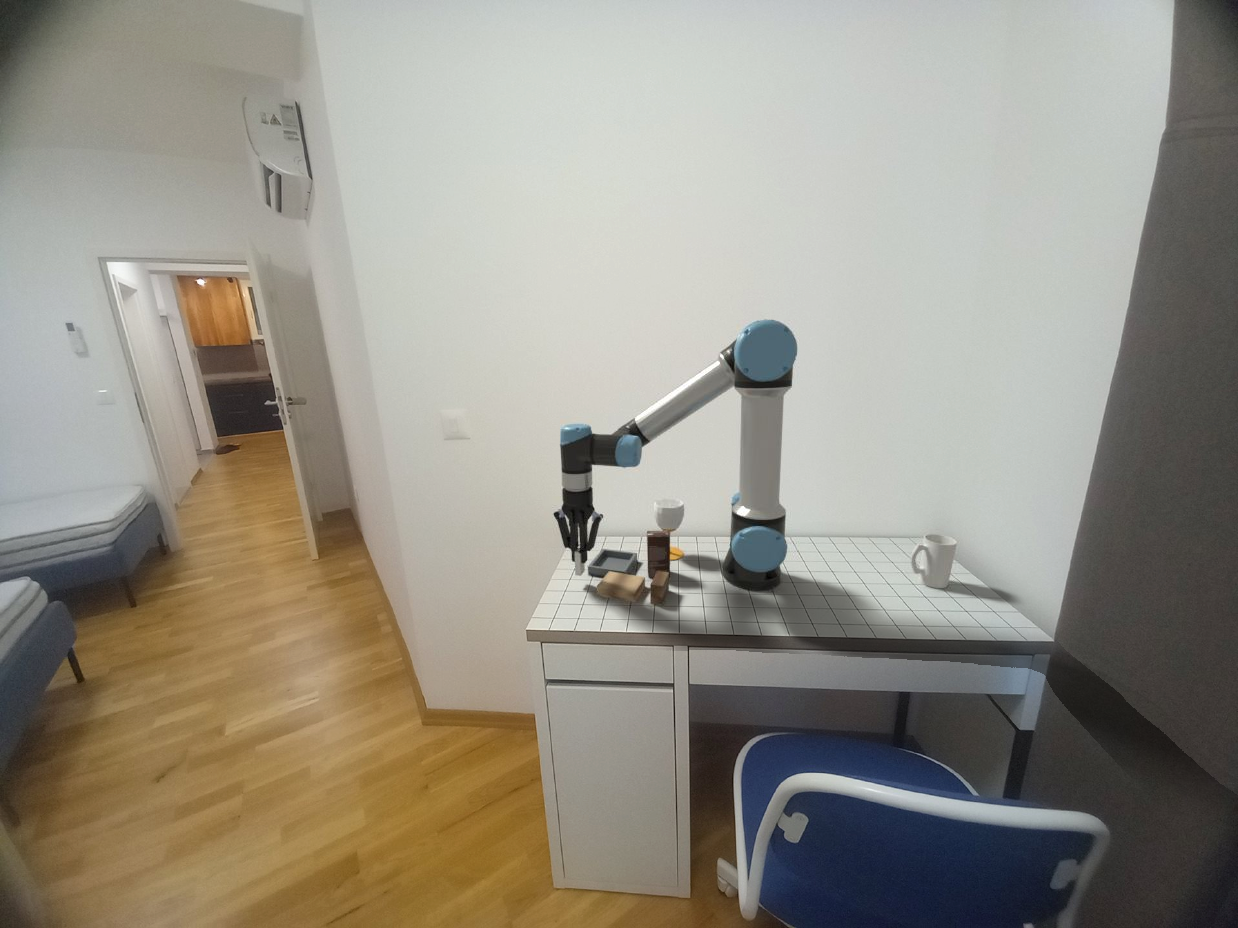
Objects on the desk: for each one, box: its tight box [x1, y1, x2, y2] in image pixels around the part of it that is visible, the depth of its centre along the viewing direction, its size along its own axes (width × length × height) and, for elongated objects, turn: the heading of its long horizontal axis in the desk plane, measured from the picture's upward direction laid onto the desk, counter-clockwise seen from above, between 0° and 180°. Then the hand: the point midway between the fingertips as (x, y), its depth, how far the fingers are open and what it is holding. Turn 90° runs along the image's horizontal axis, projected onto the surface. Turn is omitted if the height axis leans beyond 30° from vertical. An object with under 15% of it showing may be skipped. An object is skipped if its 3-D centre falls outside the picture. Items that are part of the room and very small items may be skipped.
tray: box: [587, 548, 638, 578], centre depth 125 cm, size 11×12×2 cm
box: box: [646, 530, 671, 579], centre depth 120 cm, size 6×4×12 cm
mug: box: [910, 533, 958, 589], centre depth 113 cm, size 10×7×12 cm, turn 91°
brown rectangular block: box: [649, 571, 670, 606], centre depth 110 cm, size 3×7×5 cm, turn 162°
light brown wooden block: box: [596, 571, 646, 603], centre depth 114 cm, size 10×8×3 cm
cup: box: [653, 497, 685, 561], centre depth 132 cm, size 9×9×16 cm
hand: (580, 572), depth 116 cm, fingers closed
